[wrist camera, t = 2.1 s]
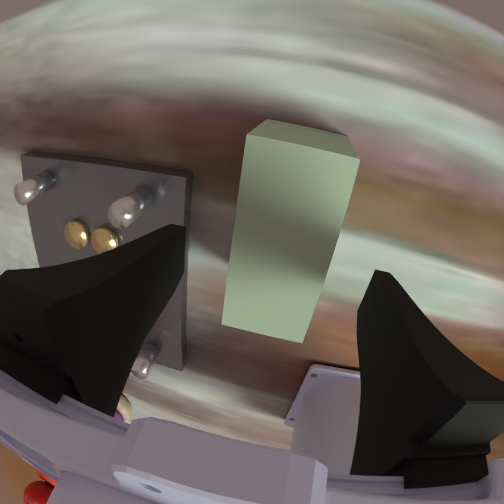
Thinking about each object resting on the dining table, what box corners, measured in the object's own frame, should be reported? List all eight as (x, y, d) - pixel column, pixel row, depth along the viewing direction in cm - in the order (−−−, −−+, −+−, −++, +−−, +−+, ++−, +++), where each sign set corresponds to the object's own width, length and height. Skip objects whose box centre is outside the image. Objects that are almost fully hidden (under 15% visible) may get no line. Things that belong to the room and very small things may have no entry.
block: (307, 283, 19) (302, 343, 15) (243, 268, 20) (221, 324, 15) (347, 135, 15) (360, 159, 10) (267, 118, 15) (246, 134, 11)
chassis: (185, 362, 25) (171, 394, 22) (62, 317, 26) (42, 341, 23) (193, 172, 17) (165, 195, 14) (30, 151, 18) (-5, 167, 15)
